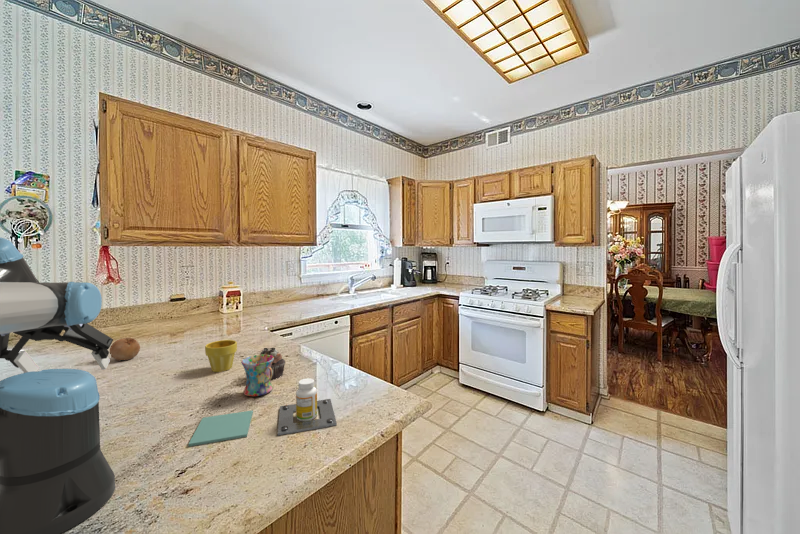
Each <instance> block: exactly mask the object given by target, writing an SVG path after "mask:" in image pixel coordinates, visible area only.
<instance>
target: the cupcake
mask: <svg viewBox="0 0 800 534" xmlns="http://www.w3.org/2000/svg"><path fill="white" fill-rule="evenodd" d="M259 355H271V356H273V357H274V360H273V362H272V365H271V368H272V370H273V376H272V379H274V380H277V379H279V377H280V376H281V377H283V375H284V370H285V364H286V360H285V359H284V358H283V355H282V353H281V352H279V351H278V350H277V349H276V347H271V348H267V347H265V348H263V349H262V350H261V352H260V353H259ZM270 375H271V372H270ZM281 377H280V378H281ZM276 378H277V379H276ZM272 379H271V380H270V381H273V380H272Z"/></svg>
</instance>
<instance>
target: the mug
mask: <svg viewBox="0 0 800 534" xmlns="http://www.w3.org/2000/svg"><path fill="white" fill-rule="evenodd" d="M273 360H274V357H273V356H271V355H260V354H254V355H251V356H247V357H245V358H243V359H242V360H241V362H240V363H241V365H242V367H243V369H244V371H245V376H246V377H245V378H246V379H245V380H246V383H245V387H244V390H243V394H244V395H245V396H247V397H260V396H263V395H267V394H269V393H271V391H272V390H273V388H274V385H273V384H272V380H271V379H272V376H273V370H272V368H271V365H272V362H273ZM270 372H271V375H270Z"/></svg>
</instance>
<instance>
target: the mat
mask: <svg viewBox="0 0 800 534" xmlns="http://www.w3.org/2000/svg"><path fill="white" fill-rule="evenodd" d="M253 413H254V410H252V409H251V410H246V411H239V412H238V411H237V412H231V413H226V414H225V413H224V414H219V415H212V416H205V417H202V419H201V420H200V422H199V424H198V426H197V427H196V429H195V431H194V433H193V435H192V437H191V439H190V440H189V442H188V447H194V446H199V445H200V446H202V445H206V444H213V443H217V442H223V441H224V442H225V441H229V440H235V439H240V438H246V437H247V436H248V433H249V429H250V426H251V423H252V422H251V421H252V418H253Z"/></svg>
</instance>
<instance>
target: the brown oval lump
mask: <svg viewBox="0 0 800 534" xmlns="http://www.w3.org/2000/svg"><path fill="white" fill-rule="evenodd" d="M140 350H141V345H140V343H139V342H138V340H136V339H135V338H133V337H126V338H120V339H117V340H115V341H113V342H112V343H111V345H110V347H109V355H110V357H111V358H113V359H114V360H116V361H119V360H125V361H129V360H131V359H133V358H135V357H136V356H137V355H138V354H139V353H140ZM119 362H120V361H119Z"/></svg>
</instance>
